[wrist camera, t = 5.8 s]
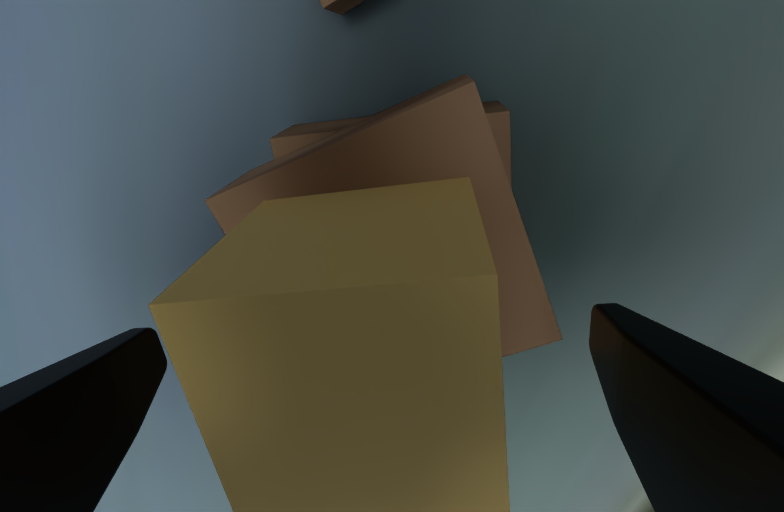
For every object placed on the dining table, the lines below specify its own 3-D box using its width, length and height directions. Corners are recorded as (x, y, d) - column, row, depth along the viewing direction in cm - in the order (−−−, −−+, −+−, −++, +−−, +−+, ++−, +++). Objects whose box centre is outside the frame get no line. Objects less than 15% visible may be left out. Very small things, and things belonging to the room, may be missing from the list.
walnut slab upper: (465, 73, 12) (474, 80, 10) (539, 286, 15) (562, 339, 12) (248, 170, 14) (204, 200, 11) (347, 347, 16) (330, 406, 14)
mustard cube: (469, 176, 11) (496, 274, 6) (482, 354, 13) (510, 528, 8) (264, 200, 11) (148, 304, 7) (307, 365, 13) (241, 532, 9)
